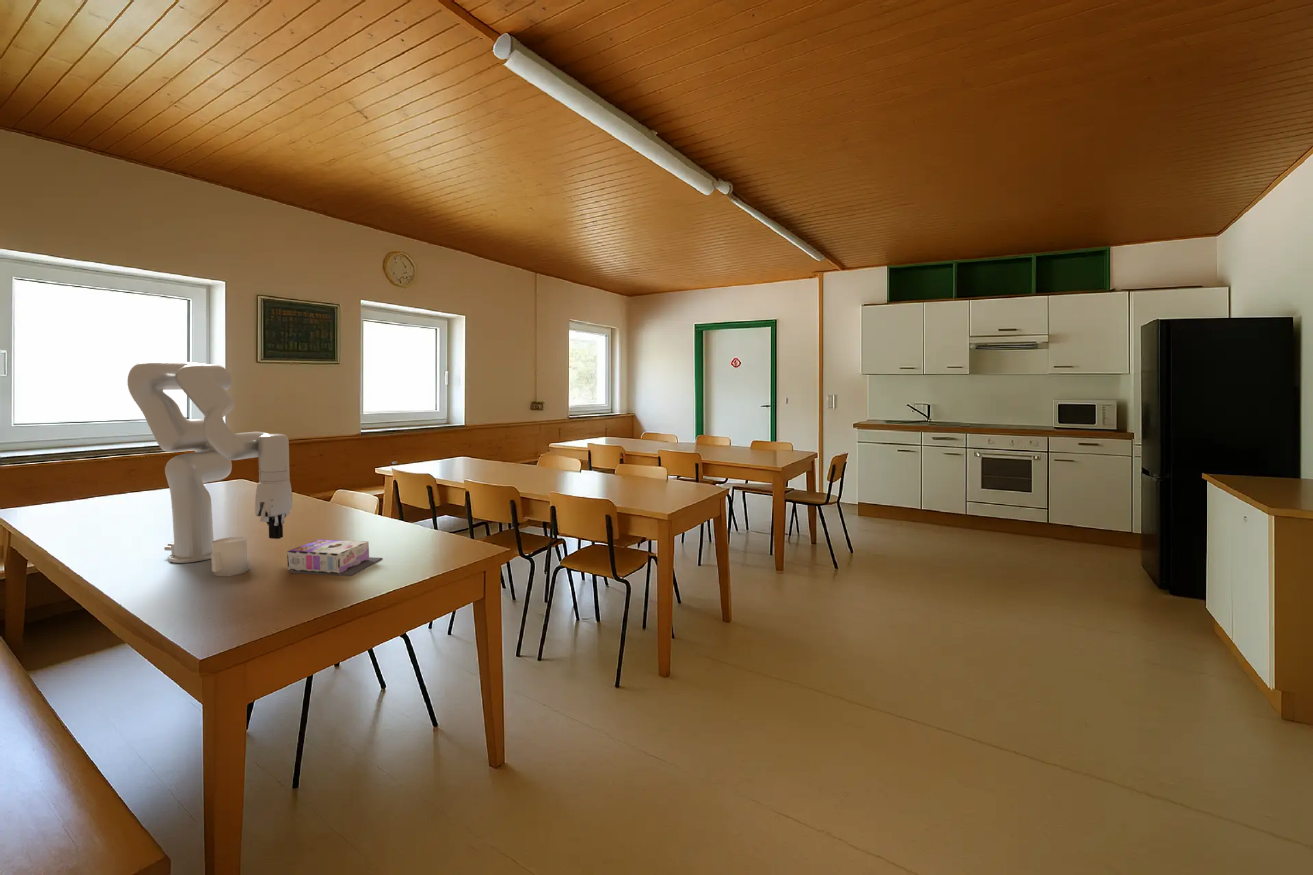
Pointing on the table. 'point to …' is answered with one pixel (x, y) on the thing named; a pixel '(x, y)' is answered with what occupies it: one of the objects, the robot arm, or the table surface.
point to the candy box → (328, 556)
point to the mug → (229, 556)
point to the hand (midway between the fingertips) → (276, 537)
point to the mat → (349, 571)
